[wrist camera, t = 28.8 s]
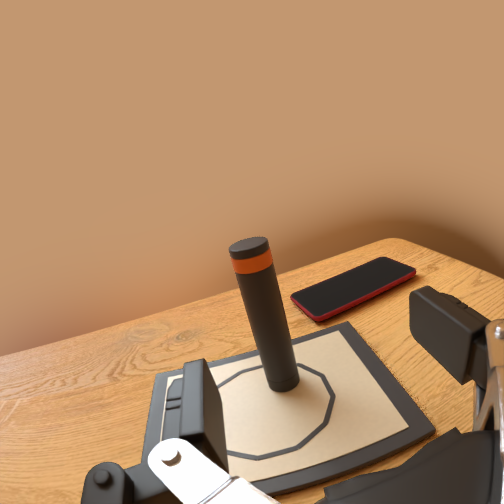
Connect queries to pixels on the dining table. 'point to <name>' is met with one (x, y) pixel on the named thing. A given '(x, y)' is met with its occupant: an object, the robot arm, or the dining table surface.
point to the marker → (265, 311)
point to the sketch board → (306, 413)
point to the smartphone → (351, 287)
